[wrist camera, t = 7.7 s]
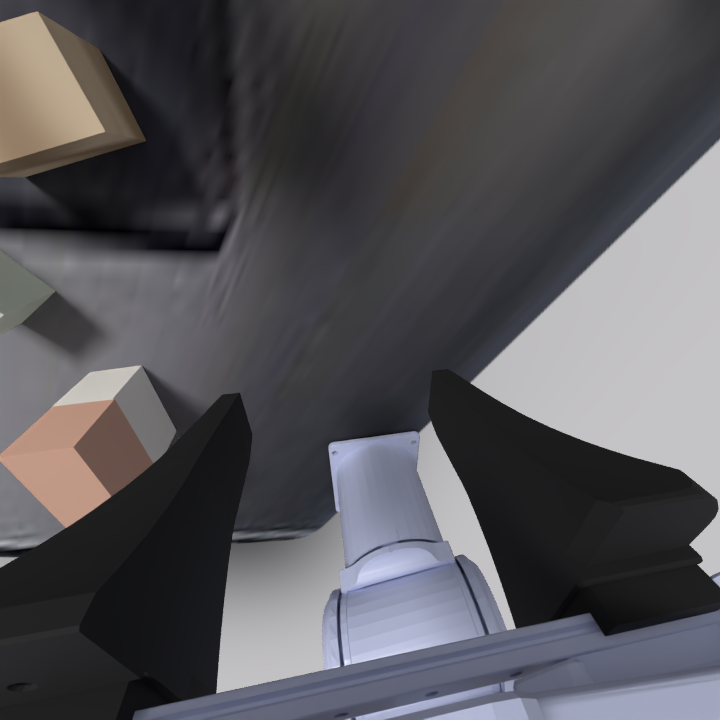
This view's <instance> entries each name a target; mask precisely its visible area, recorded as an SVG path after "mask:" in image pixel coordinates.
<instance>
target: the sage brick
mask: <svg viewBox="0 0 720 720" xmlns="http://www.w3.org/2000/svg"><path fill="white" fill-rule="evenodd" d="M54 292H55V290H54V289H52V288H51V287H49V286H48V285H47V284H45V283H44V282H43V281H41V280H40V279H39V278H37V277H36V276H34V275H33V274H32V273H30V272H29V271H28V270H26V269H25V268H24V267H22V266H21V265H19V264H18V263H17V262H15V261H14V260H13V259H11V258H10V257H8V256H7V255H6V254H4V253H3V252H2V251H0V334H2V333H4V332H6V331H8V330H10V329H12V328H14V327H16V326H18V325H20V324H22V323H23V322H24V321H25V320H26V319H27V318H28V317H29V316H30V315H31V314H32V313H33V312H34V311H35V310H36V309H37V308H38V307H39V306H41V305H42V304H43V303H44V302H45V301H46V300H47V299H48V298H49V297H50V296H51V295H52V294H53V293H54Z"/></svg>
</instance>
